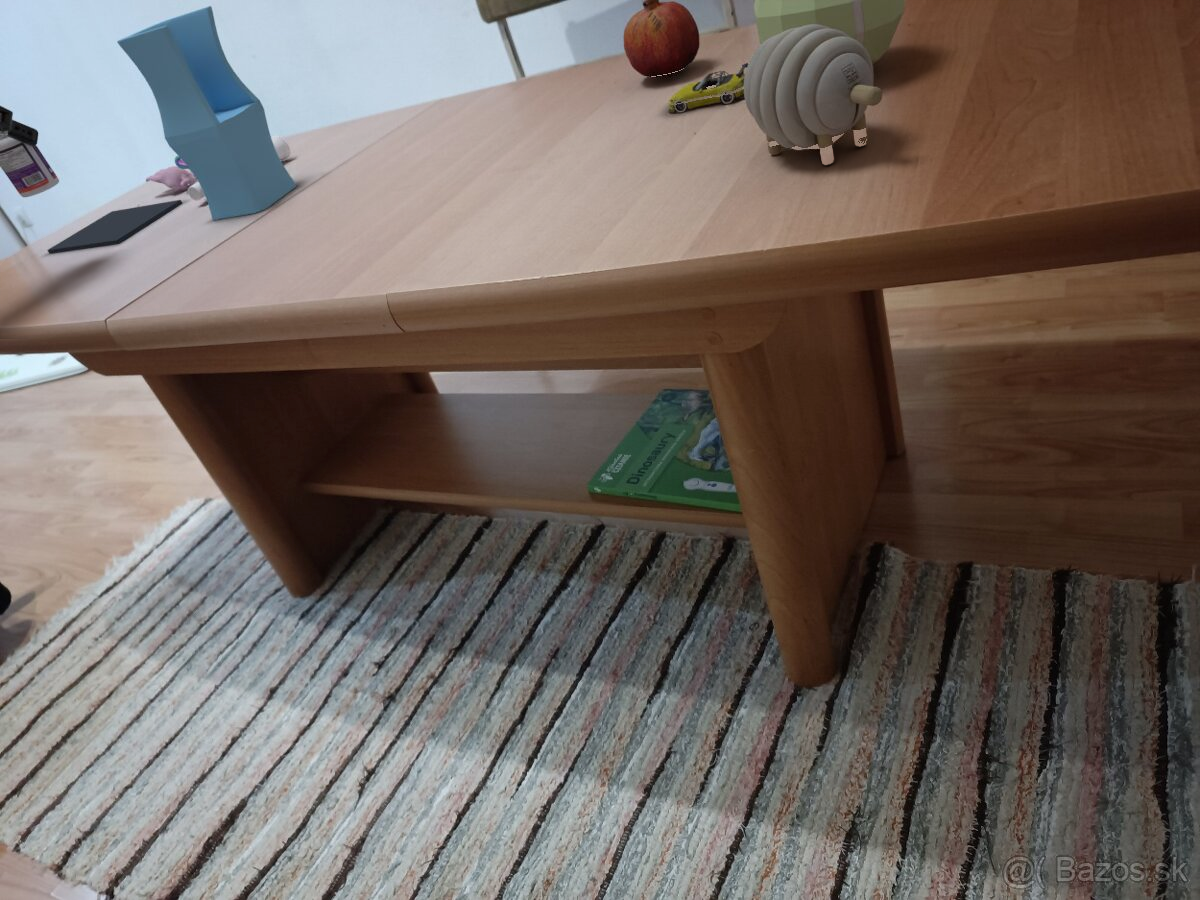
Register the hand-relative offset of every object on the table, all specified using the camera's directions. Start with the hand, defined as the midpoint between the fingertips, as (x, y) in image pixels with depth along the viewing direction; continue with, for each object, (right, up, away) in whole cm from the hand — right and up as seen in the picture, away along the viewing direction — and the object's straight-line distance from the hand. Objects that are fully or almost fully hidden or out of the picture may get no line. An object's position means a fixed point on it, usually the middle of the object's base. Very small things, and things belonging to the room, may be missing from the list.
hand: (22, 141), depth 119 cm
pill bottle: (+1, -6, +2) cm, 7 cm away
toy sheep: (+100, -14, -37) cm, 107 cm away
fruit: (+89, +8, -1) cm, 89 cm away
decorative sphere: (+106, -1, -22) cm, 108 cm away
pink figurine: (+8, +3, +31) cm, 32 cm away
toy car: (+92, -1, -15) cm, 94 cm away
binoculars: (+22, +1, +22) cm, 31 cm away
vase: (+28, -6, +10) cm, 31 cm away
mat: (0, -6, +23) cm, 24 cm away
